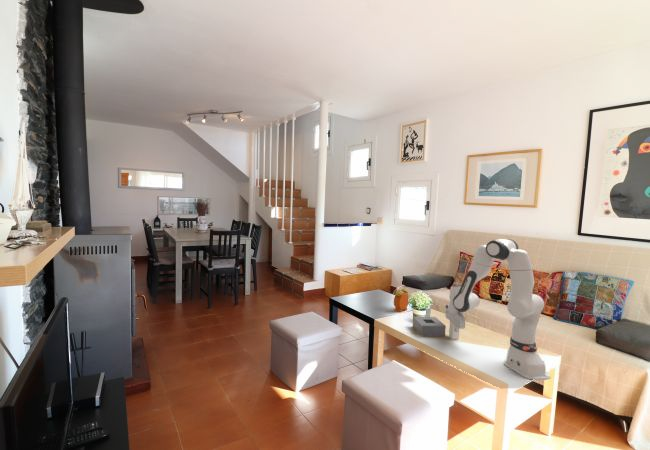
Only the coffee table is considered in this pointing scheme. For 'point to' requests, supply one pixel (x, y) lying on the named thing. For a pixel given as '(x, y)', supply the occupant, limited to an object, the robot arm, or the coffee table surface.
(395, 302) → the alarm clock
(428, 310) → the small box
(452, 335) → the plug peg
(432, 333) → the socket block
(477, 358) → the coffee table surface
